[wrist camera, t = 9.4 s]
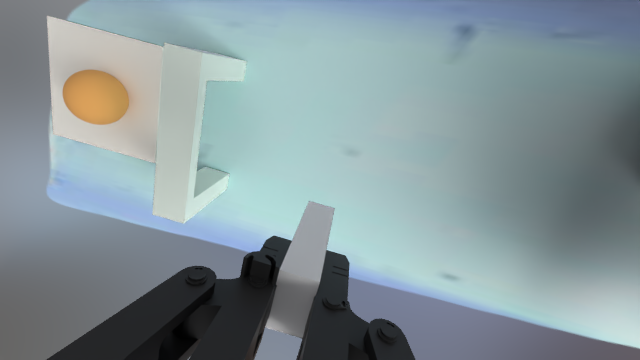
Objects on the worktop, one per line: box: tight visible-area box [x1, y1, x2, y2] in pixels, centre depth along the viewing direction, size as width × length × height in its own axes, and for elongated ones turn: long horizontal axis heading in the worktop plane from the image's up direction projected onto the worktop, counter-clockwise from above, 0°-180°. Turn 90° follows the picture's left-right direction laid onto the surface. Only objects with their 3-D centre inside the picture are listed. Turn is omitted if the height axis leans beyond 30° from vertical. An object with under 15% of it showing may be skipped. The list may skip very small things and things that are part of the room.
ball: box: [62, 70, 129, 125], centre depth 31 cm, size 6×6×6 cm
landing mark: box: [47, 16, 164, 163], centre depth 33 cm, size 13×13×1 cm
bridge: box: [153, 43, 247, 223], centre depth 29 cm, size 3×14×9 cm, turn 166°
